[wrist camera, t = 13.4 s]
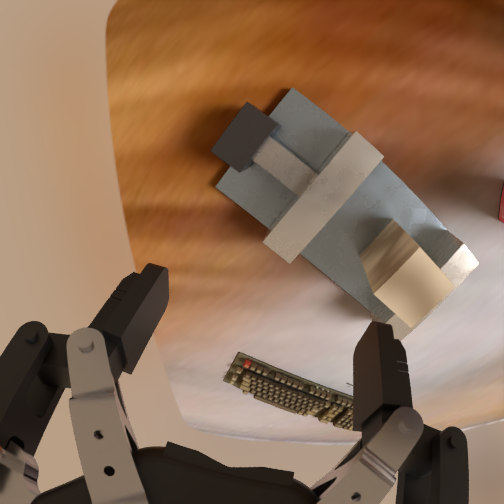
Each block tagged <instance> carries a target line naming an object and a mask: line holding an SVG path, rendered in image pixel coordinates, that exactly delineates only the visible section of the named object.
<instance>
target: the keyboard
mask: <svg viewBox="0 0 504 504" xmlns="http://www.w3.org/2000/svg"><path fill="white" fill-rule="evenodd" d="M223 381H225V382H227V383H230V384H232V385H234V386H236V387H238V388H241V389H243V393H244V394H246V395H247V393H248V392H250V393H253V394H255V395H254V398H255V399H257V400H260V401H262V402H265V403H267V404H270V405H273V406H275V407H278V408H280V409H283V410H286V411H289V412H292V413H294V414H296V413H297V414H299V415H301V414H302V415H303V416H307V415H308V414H310V415H313V416H315V417H318V420H319V421H320V422H322V423H326V424H327V423H328V422H329V421H330V422H333V425H334V426H335V427H338V428H341V427H342V428H343V429H347V430H352V429H353V396H351V395H348V394H345V393H342V392H339V391H336V390H334V389H331V388H328V387H325V386H322V385H320V384H317V383H314V382H312V381H309V380H307V379H304V378H301V377H299V376H296V375H294V374H291V373H289V372H286V371H284V370H281V369H279V368H276V367H274V366H272V365H269V364H267V363H265V362H262V361H260V360H258V359H255V358H253V357H250V356H248V355H246V354H244V353H241V352H239V353H238V354H237V356H236V358H235V360H234V362H233V363H232V365H231V367H230V369H229V370H228V372H227V374H226V376H225V378H224V379H223ZM347 384H349V383H347ZM349 385H351V386H353V385H352V384H349ZM348 387H349V386H348Z"/></svg>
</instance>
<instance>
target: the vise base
mask: <svg viewBox="0 0 504 504" xmlns="http://www.w3.org/2000/svg"><path fill="white" fill-rule="evenodd" d="M269 117H271V118H272V119H273V120H275V121H276V122H277V123H279V124H280V125H281V128H280V129H279V130H278V131H277V133H276V134H275V135H274V136H273V138H274V139H275V140H276V141H278V142H279V143H280V144H282V145H283V146H284V147H285V148H287V149H288V150H289V151H291V152H292V153H293V154H294V155H296V156H297V157H298V158H299V159H301V160H302V161H303V162H304V163H306V164H307V165H308V166H309V167H310V168H312V169H313V170H314V171H315V172H316V171H317V170H318V169H319V168H320V167H321V165H322V164H323V163H324V162H325V161H326V159H327V158H328V157H329V156H330V155H331V154H332V152H333V151H334V150H335V149H336V148H337V146H338V145H339V144H340V143H341V142H342V140H343V139H344V138H345V137H346V136H347V135H348V133H349V132H348V131H347V130H346V129H345V128H344V127H342V126H341V125H340V124H339V123H338V122H336V121H335V120H334V119H333V118H332V117H330V116H329V115H328V114H327V113H325V112H324V111H323V110H321V109H320V108H319V107H318V106H316V105H315V104H314V103H312V102H311V101H310V100H309V99H307V98H306V97H305V96H303V95H302V94H300V93H299V92H298V91H296V90H295V89H294V88H292V89H291V90H290V91H289V92H288V93H287V95H286V96H285V97H284V98H283V99H282V101H281V102H280V103H279V104H278V106H277V107H276V108H275V109H274V111H273V112H272V113H271V114H270V116H269ZM216 188H217V189H219V190H220V191H221V192H223V193H224V194H225V195H226V196H228V197H229V198H230V199H232V200H233V201H234V202H235V203H237V204H238V205H239V206H241V207H242V208H243V209H244V210H246V211H247V212H248V213H250V214H251V215H252V216H253V217H255V218H256V219H257V220H258V221H260V222H261V223H262V224H263V225H265V226H266V227H267V228H269V227H270V226H271V225H272V224H273V223H274V221H275V220H276V219H277V218H278V217H279V216H280V214H281V213H282V212H283V211H284V210H285V208H286V207H287V206H288V205H289V204H290V202H291V201H292V200H293V199H294V198H295V196H296V194H295V193H294V192H293V191H292V190H290V189H289V188H288V187H287V186H285V185H284V184H283V183H282V182H280V181H279V180H278V179H276V178H275V177H274V176H273V175H271V174H270V173H269V172H268V171H266V170H265V169H264V168H262V167H261V166H260V165H259V164H257V163H256V162H255V161H254V162H253V163H252V164H251V166H250V167H249V168H248V169H246V170H244V171H242V172H240V173H239V172H237V171H236V170H235V169H234V168H232V167H231V166H230V168H229V169H228V170H227V172H226V173H225V174H224V176H223V177H222V178H221V180H220V181H219V183H218V184H217V185H216ZM393 219H394V220H395V221H396V222H397V223H398V224H399V225H400V226H401V227H402V228H403V229H404V230H405V231H406V232H407V233H408V234H409V235H410V236H411V238H412V239H413V240H414V241H415V242H416V243H417V244H418V245H419V246H420V247H421V248H422V249H423V250H424V251H425V252H426V254H427V255H428V256H429V257H430V258H431V259H432V260H433V262H434V263H435V264H436V265H437V266H438V267H439V268H440V270H441V271H442V272H443V273H444V274H445V276H446V277H447V278H448V279H449V280H450V282H451V283H452V284H453V285H454V286H455V287H454V288H453V289H452V290H451V291H450V292H449V293H448V294H447V295H446V296H445V297H444V298H443V299H442V300H441V301H440V302H439V303H438V304H437V305H436V306H435V307H434V308H433V309H432V310H431V311H430V312H428V313H427V314H426V315H425V316H424V317H423V318H422V319H421V320H420V321H419V322H418V323H417V324H415V325H414V326H413V327H412V328H410V327H409V326H408V325H407V324H406V323H405V322H404V321H403V320H402V319H401V318H399V317H398V316H397V315H396V314H395V313H394V312H393V311H392V310H391V309H390V308H388V307H387V306H386V305H385V304H384V303H383V302H382V301H381V300H380V299H378V298H377V297H376V296H375V295H374V294H373V291H372V289H371V286H370V283H369V280H368V278H367V275H366V272H365V270H364V267H363V264H362V262H361V259H360V257H359V255H360V254H361V253H362V252H363V251H364V250H365V249H366V248H367V247H368V246H369V245H370V244H371V242H372V241H373V240H374V239H375V238H376V237H377V236H378V235H379V234H380V233H381V232H382V231H383V230H384V228H385V227H386V226H387V225H388V224H389V223H390V222H391V221H392V220H393ZM300 254H301V255H302V256H303V257H305V258H306V259H307V260H308V261H310V262H311V263H312V264H313V265H315V266H316V267H317V268H318V269H319V270H321V271H322V272H323V273H324V274H326V275H327V276H328V277H329V278H330V279H332V280H333V281H334V282H335V283H337V284H338V285H339V286H340V287H341V288H343V289H344V290H345V291H346V292H347V293H349V294H350V295H351V296H352V297H353V298H355V299H356V300H357V301H358V302H359V303H361V304H362V305H363V306H364V307H365V308H367V309H368V310H369V311H370V315H371V318H372V321H377V322H382V323H387V324H391V325H392V328H393V334H394V339H399V340H400V341H401V340H402V339H403V338H405V337H406V336H407V335H408V334H409V333H410V332H411V331H412V330H414V329H415V328H416V327H417V326H418V325H419V324H420V323H421V322H422V321H423V320H425V319H426V318H427V317H428V316H429V315H430V314H431V313H432V312H433V311H434V310H435V309H436V308H437V307H438V306H439V305H440V304H441V303H442V302H443V301H444V300H445V299H446V298H447V297H448V296H449V295H450V294H451V293H452V292H453V291H454V290H455V289H456V288H457V287H458V286H459V285H460V284H461V283H462V282H463V281H464V280H465V278H466V277H467V276H468V275H469V274H470V273H471V272H472V271H473V270H474V269H475V267H476V266H477V265H478V264H479V263H478V261H477V260H476V259H475V257H474V256H473V255H472V253H471V252H470V251H469V249H468V248H467V247H466V246H465V244H464V243H463V242H461V241H460V240H459V239H458V238H456V237H455V236H454V235H453V234H451V233H450V232H449V231H448V230H447V229H446V228H445V227H444V226H443V225H442V224H441V222H440V221H439V220H438V219H437V218H436V217H435V216H434V214H433V213H432V212H431V211H430V210H429V209H428V208H427V207H426V206H425V205H424V203H423V202H422V201H421V200H420V199H419V198H418V197H417V196H416V195H415V194H414V193H413V192H412V191H411V190H410V189H409V188H408V187H407V186H406V185H405V184H404V183H403V182H402V181H401V180H400V179H399V178H398V177H397V176H396V175H395V174H394V173H393V172H392V171H391V170H390V169H389V168H388V167H387V166H386V165H385V164H384V163H383V162H382V161H380V162H379V164H378V165H377V166H376V167H375V168H374V169H373V171H372V172H371V173H370V174H369V175H368V176H367V178H366V179H365V180H364V181H363V182H362V183H361V185H360V186H359V187H358V188H357V189H356V190H355V191H354V193H353V194H352V195H351V196H350V197H349V198H348V199H347V201H346V202H345V203H344V204H343V205H342V206H341V207H340V209H339V210H338V211H337V212H336V213H335V214H334V215H333V217H332V218H331V219H330V220H329V221H328V222H327V223H326V224H325V226H324V227H323V228H322V229H321V230H320V231H319V232H318V233H317V234H316V236H315V237H314V238H313V239H312V240H311V241H310V242H309V243H308V244H307V246H306V247H305V248H304V249H303V250H302V251H301V252H300Z"/></svg>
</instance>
